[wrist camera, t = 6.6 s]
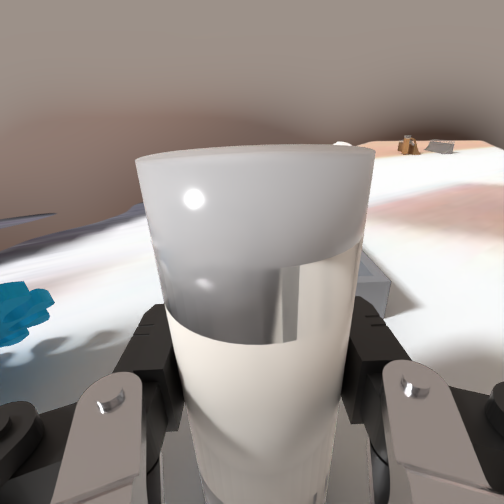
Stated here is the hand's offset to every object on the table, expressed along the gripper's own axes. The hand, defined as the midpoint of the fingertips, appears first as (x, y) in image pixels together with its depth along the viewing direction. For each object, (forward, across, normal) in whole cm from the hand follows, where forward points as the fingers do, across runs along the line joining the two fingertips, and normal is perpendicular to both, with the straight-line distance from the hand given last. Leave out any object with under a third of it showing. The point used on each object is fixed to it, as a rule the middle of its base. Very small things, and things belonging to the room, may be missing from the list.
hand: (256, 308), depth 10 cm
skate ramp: (+112, -67, +7) cm, 131 cm away
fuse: (-2, 0, +6) cm, 7 cm away
